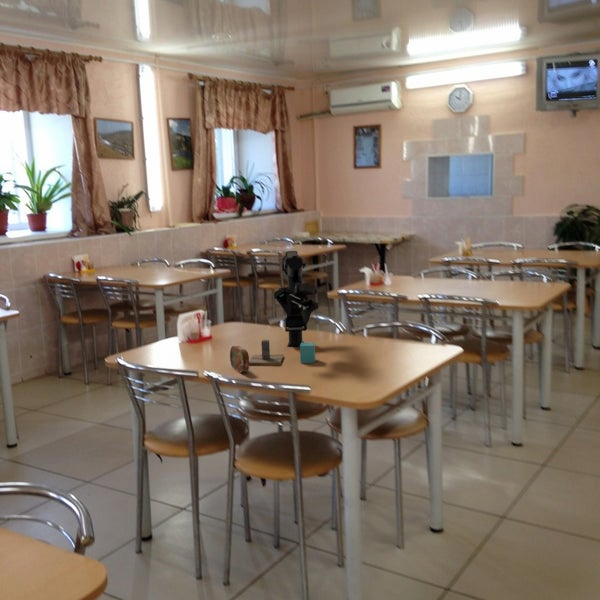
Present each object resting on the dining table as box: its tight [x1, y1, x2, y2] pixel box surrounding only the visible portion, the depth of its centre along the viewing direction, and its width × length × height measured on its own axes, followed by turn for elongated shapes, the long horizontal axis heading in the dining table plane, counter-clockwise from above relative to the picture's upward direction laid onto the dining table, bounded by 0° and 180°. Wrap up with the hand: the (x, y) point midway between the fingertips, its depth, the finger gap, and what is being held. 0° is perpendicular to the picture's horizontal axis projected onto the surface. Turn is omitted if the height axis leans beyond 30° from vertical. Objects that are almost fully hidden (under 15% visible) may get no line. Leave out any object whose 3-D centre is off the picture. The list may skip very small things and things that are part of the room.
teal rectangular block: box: [299, 342, 316, 364], centre depth 263 cm, size 5×5×7 cm
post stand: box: [249, 339, 285, 366], centre depth 265 cm, size 12×12×8 cm
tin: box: [229, 345, 250, 374], centre depth 254 cm, size 15×3×8 cm, turn 23°
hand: (297, 319), depth 262 cm, fingers open, 9 cm apart
